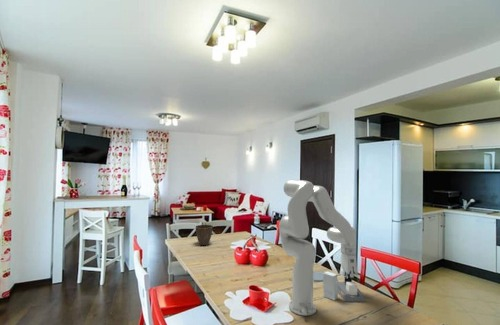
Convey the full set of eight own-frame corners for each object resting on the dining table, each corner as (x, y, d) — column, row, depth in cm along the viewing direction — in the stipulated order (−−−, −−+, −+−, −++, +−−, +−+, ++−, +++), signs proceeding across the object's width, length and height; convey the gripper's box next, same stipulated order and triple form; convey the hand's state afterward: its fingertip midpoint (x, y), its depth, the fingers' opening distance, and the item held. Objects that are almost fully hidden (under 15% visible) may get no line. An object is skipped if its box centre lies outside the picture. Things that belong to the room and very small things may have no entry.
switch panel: (364, 301, 126) (364, 294, 126) (344, 301, 126) (344, 294, 126) (349, 285, 144) (349, 279, 144) (332, 285, 144) (332, 279, 144)
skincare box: (338, 298, 129) (338, 273, 130) (334, 301, 126) (334, 276, 126) (326, 293, 133) (326, 270, 134) (322, 296, 130) (322, 272, 130)
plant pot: (191, 245, 217) (191, 226, 218) (204, 241, 229) (204, 223, 229) (203, 248, 208) (203, 229, 209) (216, 244, 220) (216, 226, 220)
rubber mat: (334, 281, 149) (334, 280, 149) (314, 281, 148) (314, 280, 148) (327, 273, 161) (327, 272, 161) (308, 273, 160) (308, 272, 160)
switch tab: (357, 295, 128) (357, 285, 128) (349, 295, 128) (349, 285, 128) (353, 291, 132) (353, 281, 132) (345, 291, 132) (345, 281, 132)
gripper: (361, 254, 127) (361, 291, 127) (349, 246, 142) (349, 279, 142) (347, 254, 127) (346, 291, 126) (336, 246, 142) (335, 279, 141)
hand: (348, 285), depth 134 cm, fingers closed
